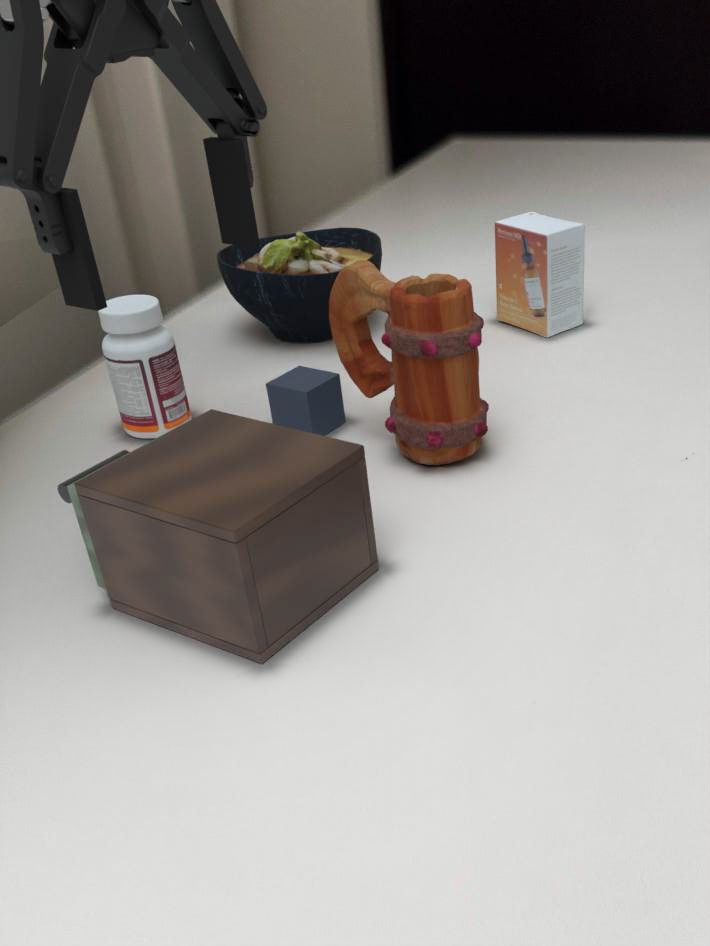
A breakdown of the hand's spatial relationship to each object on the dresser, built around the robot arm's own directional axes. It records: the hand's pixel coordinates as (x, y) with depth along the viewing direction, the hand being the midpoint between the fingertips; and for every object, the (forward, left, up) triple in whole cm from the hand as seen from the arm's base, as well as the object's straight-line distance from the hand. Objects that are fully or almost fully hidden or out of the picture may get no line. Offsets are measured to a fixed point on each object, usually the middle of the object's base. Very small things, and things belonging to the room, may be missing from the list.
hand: (169, 273), depth 66 cm
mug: (+3, +20, -20) cm, 29 cm away
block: (-8, +19, -20) cm, 29 cm away
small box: (-2, +51, -20) cm, 55 cm away
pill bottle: (-21, +13, -20) cm, 32 cm away
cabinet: (+5, -4, -20) cm, 21 cm away
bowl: (-24, +39, -20) cm, 50 cm away
